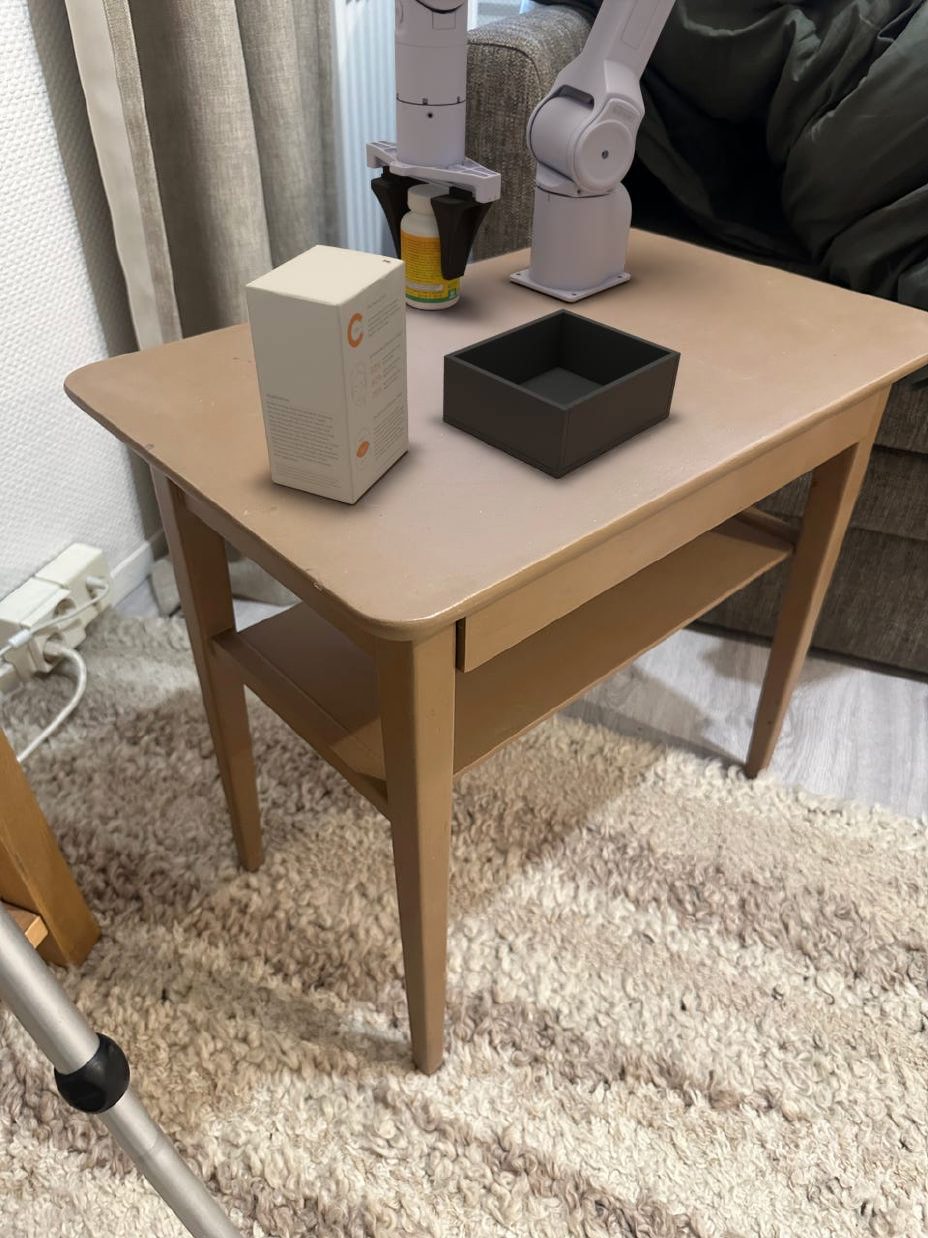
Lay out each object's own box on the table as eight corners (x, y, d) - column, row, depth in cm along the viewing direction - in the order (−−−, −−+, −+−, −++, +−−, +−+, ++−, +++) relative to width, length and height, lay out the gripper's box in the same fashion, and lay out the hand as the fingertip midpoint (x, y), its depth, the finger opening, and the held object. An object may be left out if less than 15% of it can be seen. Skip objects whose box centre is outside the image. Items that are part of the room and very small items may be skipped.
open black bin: (556, 368, 73) (562, 308, 70) (669, 416, 67) (681, 352, 64) (442, 420, 66) (443, 355, 63) (557, 478, 60) (564, 410, 57)
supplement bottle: (406, 287, 86) (405, 179, 80) (462, 291, 85) (465, 182, 79) (397, 309, 82) (395, 196, 75) (456, 313, 81) (458, 200, 75)
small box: (331, 429, 64) (317, 241, 56) (411, 449, 62) (408, 258, 54) (268, 483, 59) (241, 282, 50) (352, 507, 57) (340, 303, 48)
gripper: (335, 89, 74) (345, 257, 83) (459, 121, 67) (455, 301, 76) (398, 80, 78) (401, 241, 87) (522, 108, 71) (511, 281, 80)
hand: (430, 268), depth 82 cm, fingers closed on supplement bottle, 5 cm apart
